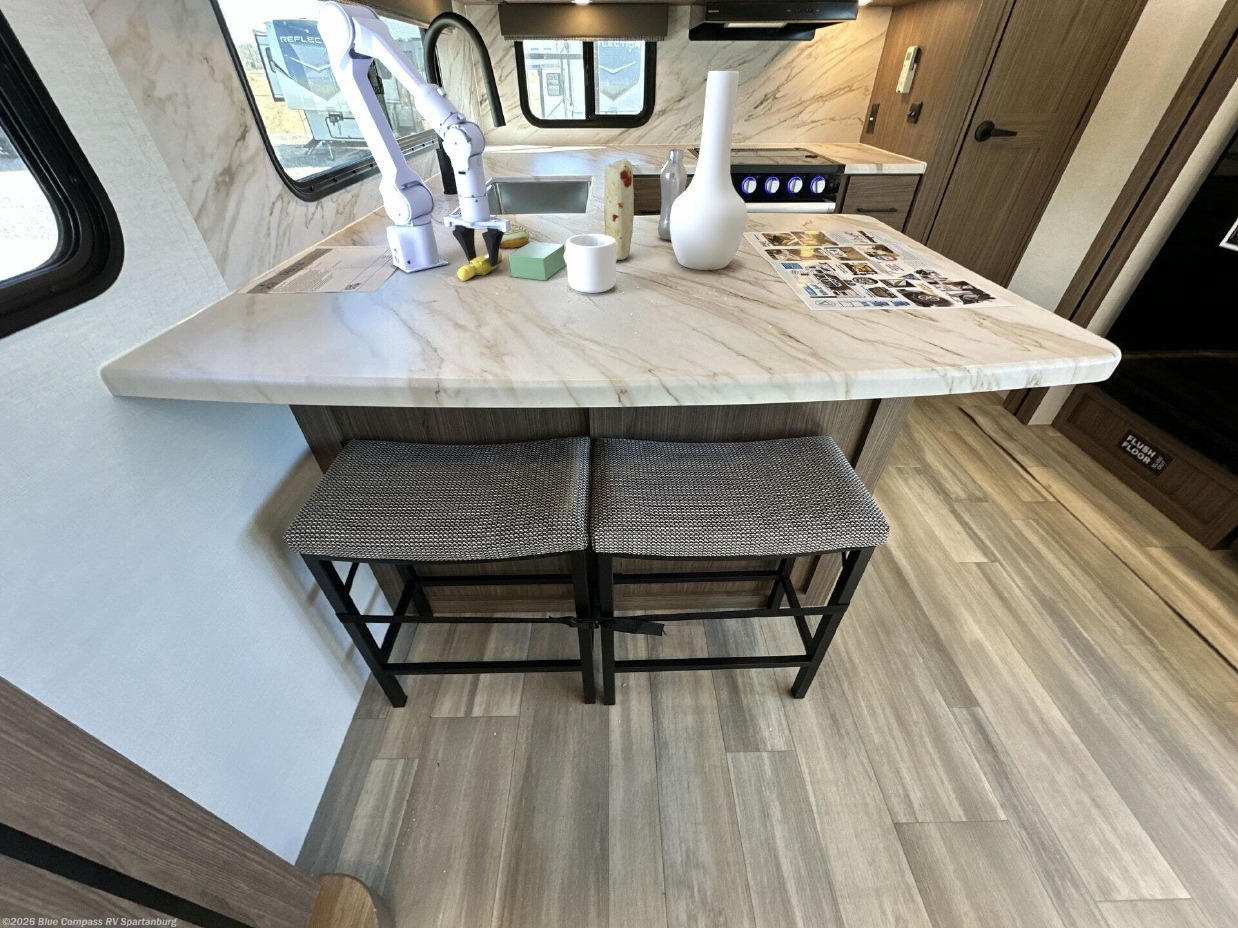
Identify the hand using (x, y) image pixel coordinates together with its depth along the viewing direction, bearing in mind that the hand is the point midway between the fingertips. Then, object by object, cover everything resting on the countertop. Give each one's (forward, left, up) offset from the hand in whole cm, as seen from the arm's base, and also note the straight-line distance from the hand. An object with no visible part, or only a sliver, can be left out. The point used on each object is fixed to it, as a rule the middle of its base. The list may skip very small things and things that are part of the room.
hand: (483, 264), depth 110 cm
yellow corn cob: (0, 0, -1) cm, 1 cm away
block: (+9, -8, -1) cm, 12 cm away
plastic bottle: (+50, -9, -2) cm, 51 cm away
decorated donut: (+16, +15, -2) cm, 22 cm away
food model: (+29, -12, -2) cm, 31 cm away
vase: (+41, -28, -2) cm, 50 cm away
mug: (+12, -23, -2) cm, 26 cm away
